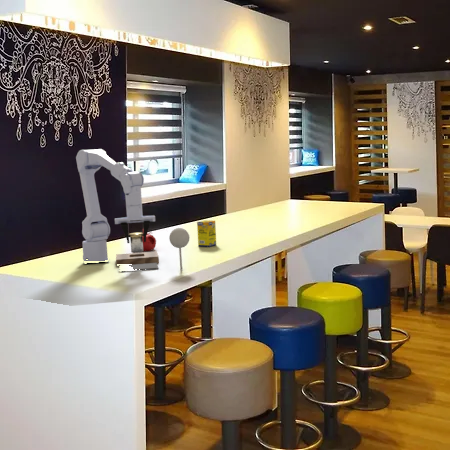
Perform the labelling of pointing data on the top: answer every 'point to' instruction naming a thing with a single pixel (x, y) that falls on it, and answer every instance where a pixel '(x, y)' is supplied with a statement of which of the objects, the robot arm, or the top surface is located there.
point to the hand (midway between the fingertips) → (136, 242)
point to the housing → (137, 258)
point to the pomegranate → (149, 242)
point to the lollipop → (179, 240)
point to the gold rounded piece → (136, 242)
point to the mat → (144, 266)
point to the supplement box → (206, 233)
